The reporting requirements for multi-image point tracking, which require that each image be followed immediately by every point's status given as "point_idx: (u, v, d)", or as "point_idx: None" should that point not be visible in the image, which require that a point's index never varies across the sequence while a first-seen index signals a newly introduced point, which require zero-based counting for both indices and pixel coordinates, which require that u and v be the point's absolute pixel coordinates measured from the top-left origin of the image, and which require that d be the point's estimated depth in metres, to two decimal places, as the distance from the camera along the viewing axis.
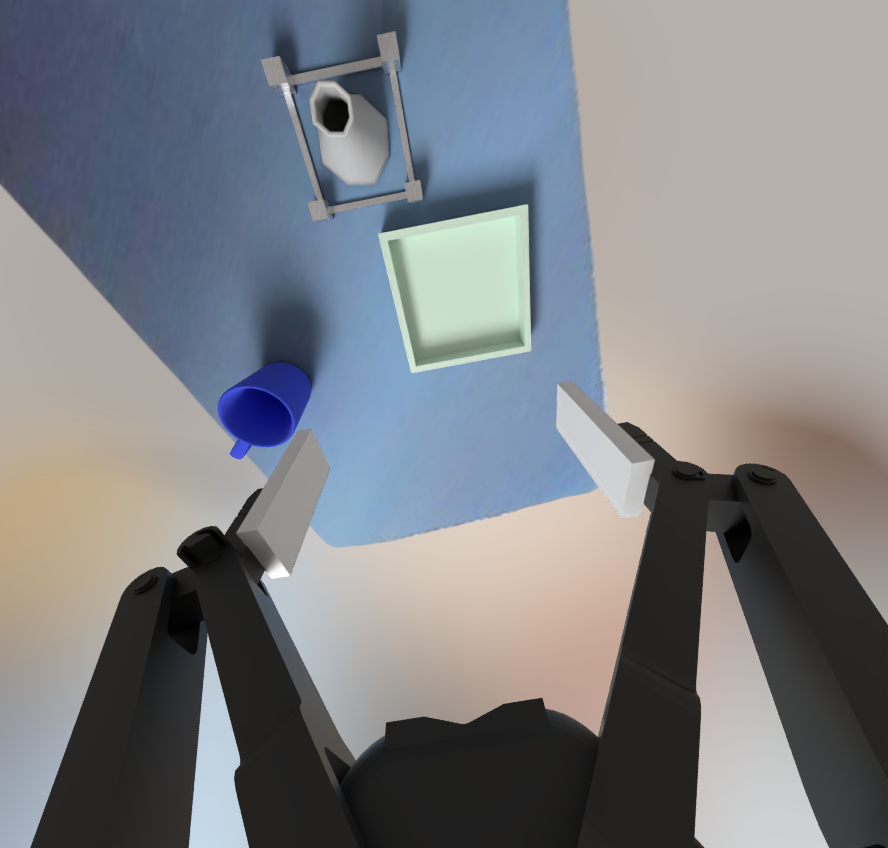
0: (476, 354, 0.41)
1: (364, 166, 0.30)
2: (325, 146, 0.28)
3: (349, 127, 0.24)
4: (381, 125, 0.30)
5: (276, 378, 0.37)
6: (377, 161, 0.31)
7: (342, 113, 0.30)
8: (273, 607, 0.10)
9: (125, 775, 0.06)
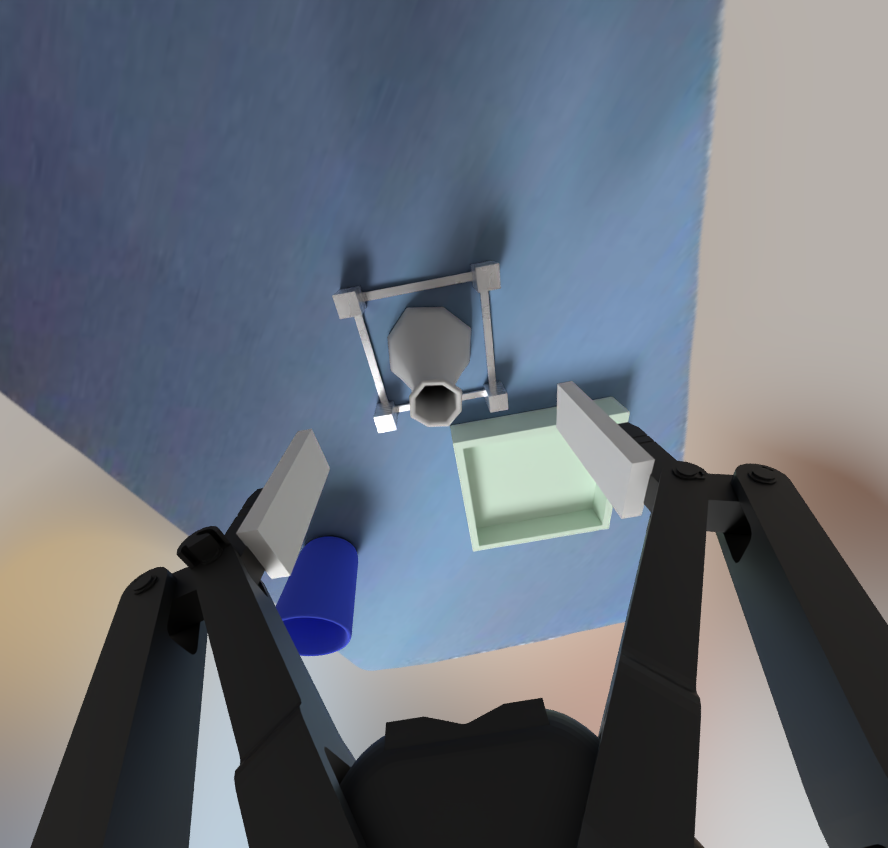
0: (547, 532, 0.37)
1: (445, 390, 0.25)
2: (405, 382, 0.23)
3: (454, 417, 0.19)
4: (467, 343, 0.25)
5: (328, 584, 0.32)
6: None
7: None
8: (273, 607, 0.10)
9: (125, 775, 0.06)
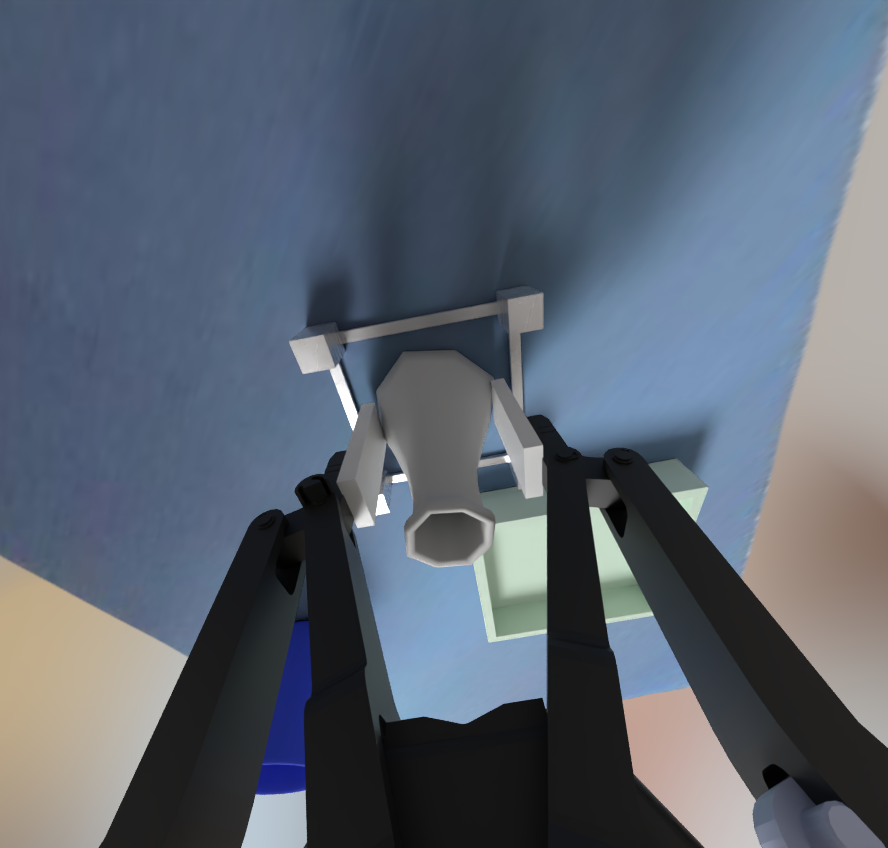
0: None
1: None
2: (400, 464, 0.16)
3: (481, 554, 0.11)
4: (489, 401, 0.17)
5: (300, 702, 0.24)
6: None
7: None
8: (358, 559, 0.12)
9: (225, 694, 0.07)
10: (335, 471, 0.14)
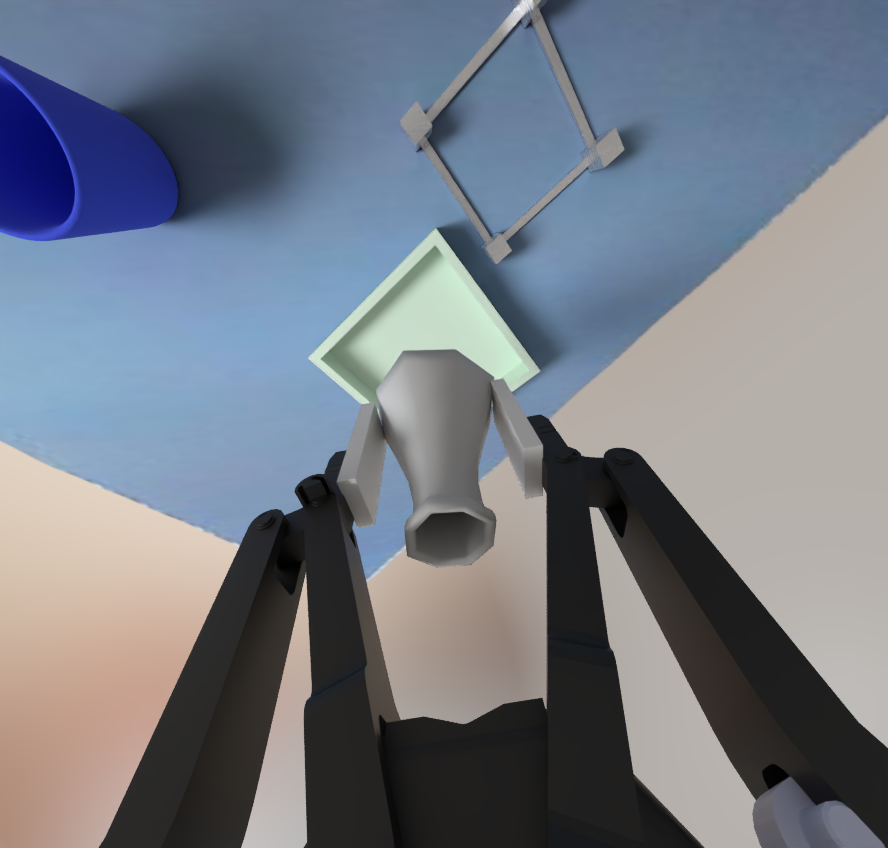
0: None
1: None
2: (400, 463, 0.16)
3: (481, 554, 0.11)
4: (490, 400, 0.17)
5: (115, 155, 0.19)
6: None
7: None
8: (358, 559, 0.12)
9: (225, 694, 0.07)
10: (335, 471, 0.14)
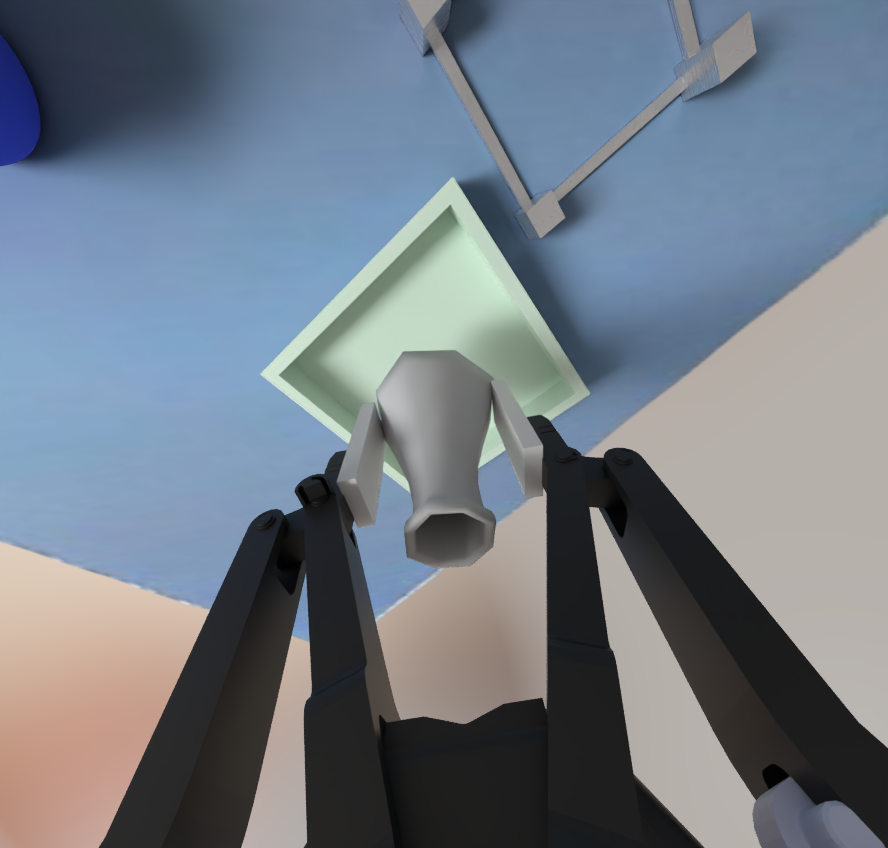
0: None
1: None
2: (400, 464, 0.16)
3: (481, 555, 0.11)
4: (490, 401, 0.17)
5: None
6: None
7: None
8: (358, 559, 0.12)
9: (225, 694, 0.07)
10: (335, 471, 0.14)
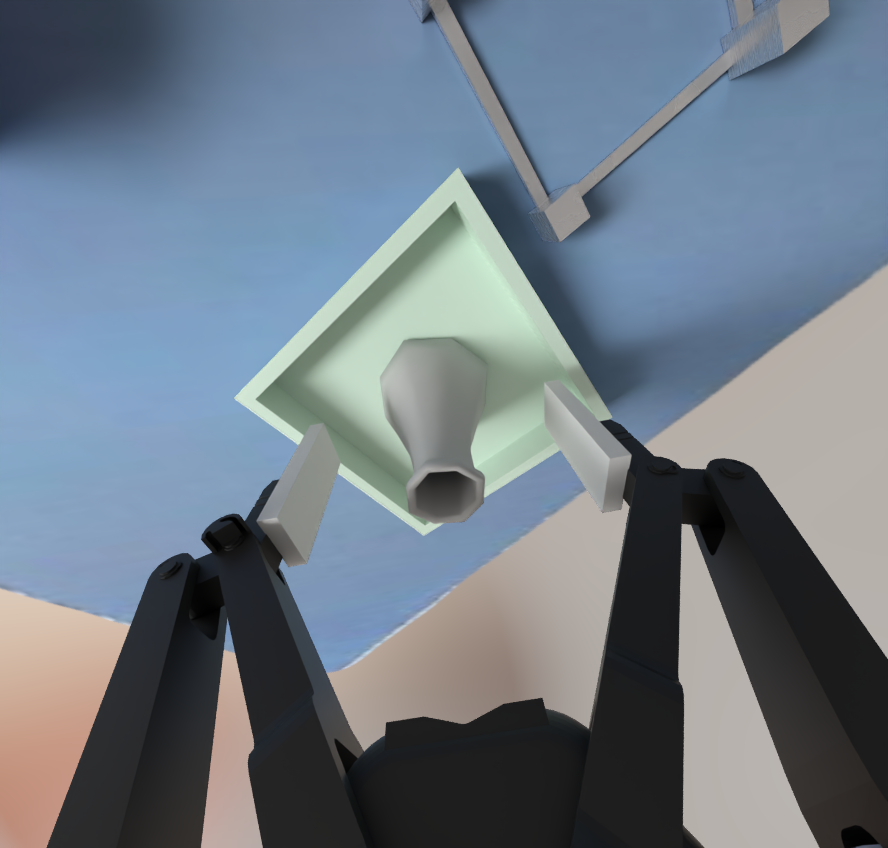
0: (363, 476, 0.21)
1: None
2: (402, 441, 0.18)
3: (473, 511, 0.13)
4: (483, 384, 0.19)
5: None
6: None
7: None
8: (290, 595, 0.11)
9: (146, 756, 0.06)
10: (266, 504, 0.13)
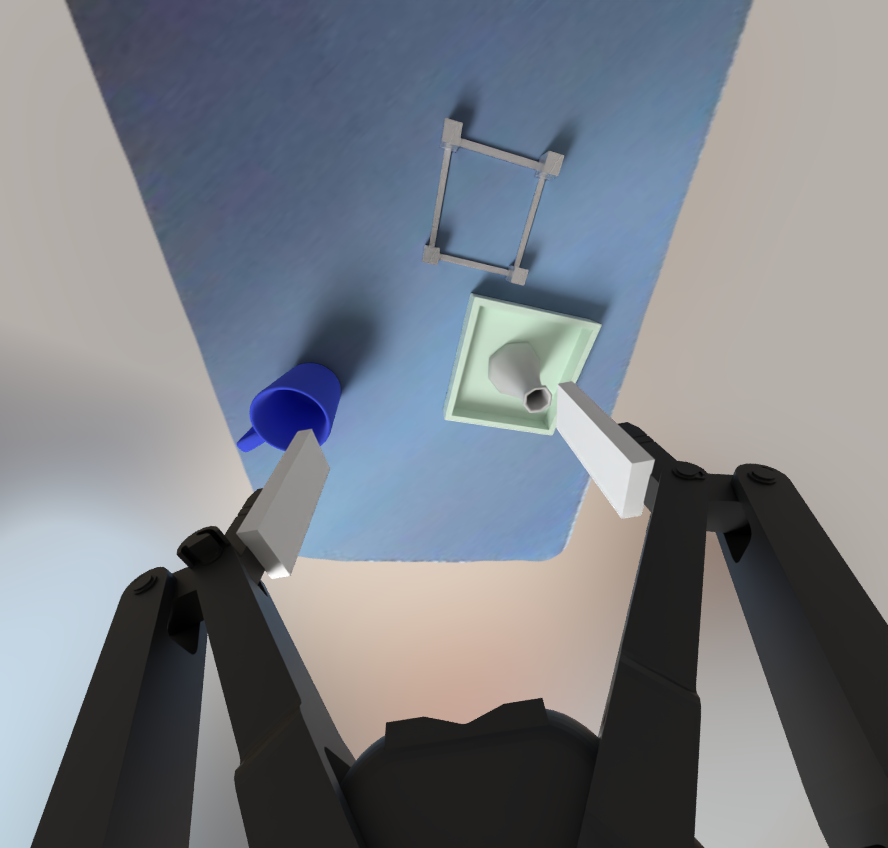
0: (507, 422, 0.44)
1: None
2: None
3: (551, 399, 0.34)
4: (532, 352, 0.40)
5: (322, 386, 0.35)
6: None
7: None
8: (273, 607, 0.10)
9: (125, 775, 0.06)
10: None
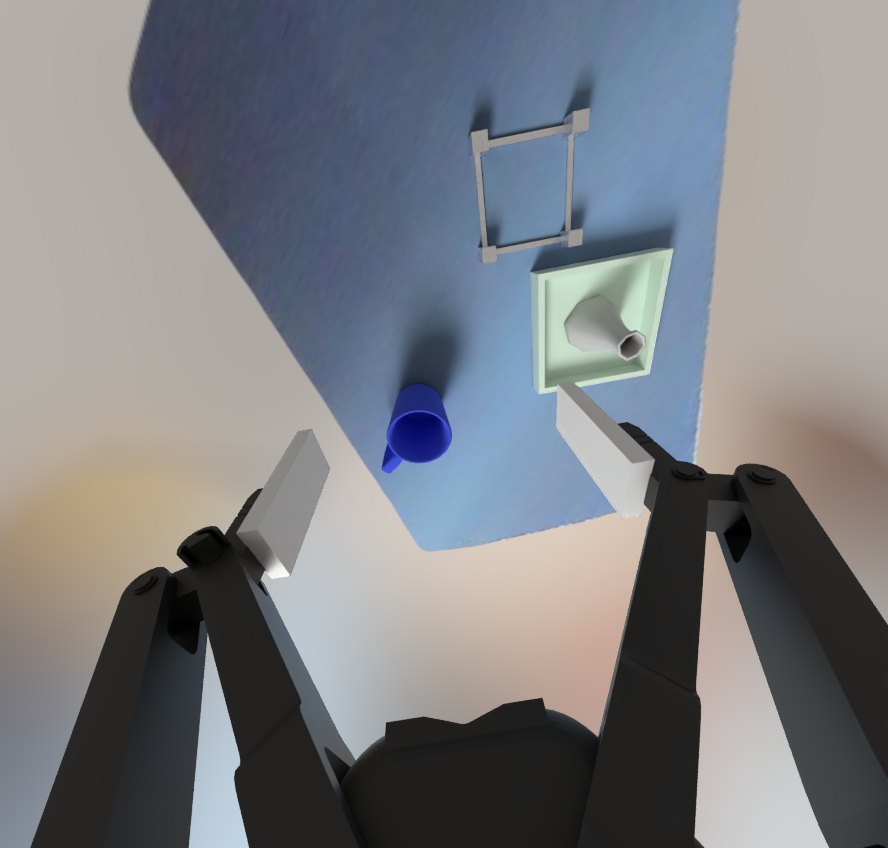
0: (599, 377, 0.45)
1: None
2: (601, 350, 0.41)
3: (645, 341, 0.35)
4: (606, 303, 0.40)
5: (432, 401, 0.41)
6: None
7: None
8: (273, 607, 0.10)
9: (125, 775, 0.06)
10: None
